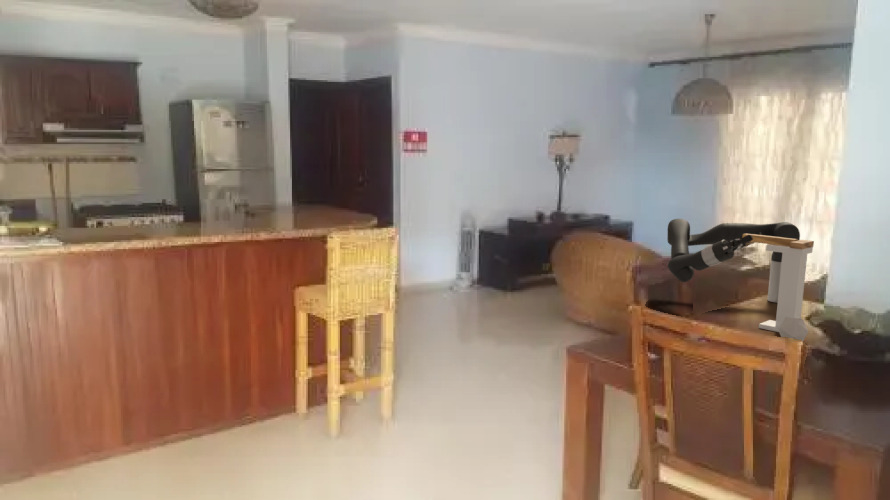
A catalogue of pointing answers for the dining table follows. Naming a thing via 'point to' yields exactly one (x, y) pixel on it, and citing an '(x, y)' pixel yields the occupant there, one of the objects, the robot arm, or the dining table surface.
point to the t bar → (781, 241)
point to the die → (793, 328)
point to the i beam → (789, 284)
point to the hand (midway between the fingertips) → (756, 236)
